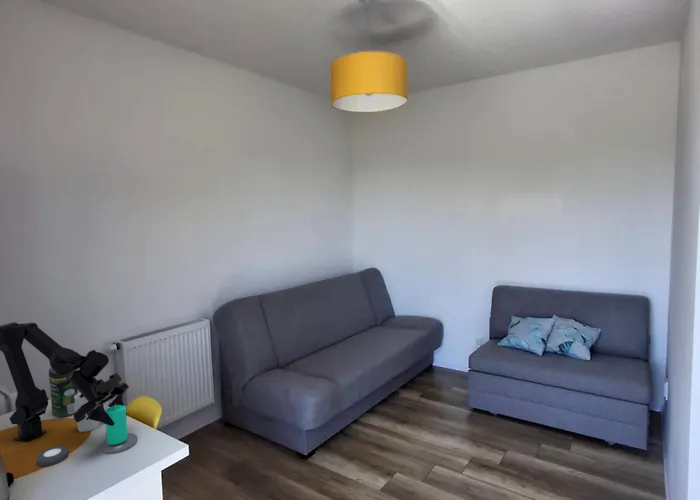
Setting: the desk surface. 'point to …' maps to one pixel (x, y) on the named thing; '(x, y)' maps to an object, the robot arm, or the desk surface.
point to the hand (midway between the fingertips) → (119, 420)
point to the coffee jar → (62, 394)
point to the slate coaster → (118, 445)
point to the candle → (117, 425)
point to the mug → (86, 424)
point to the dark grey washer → (52, 456)
